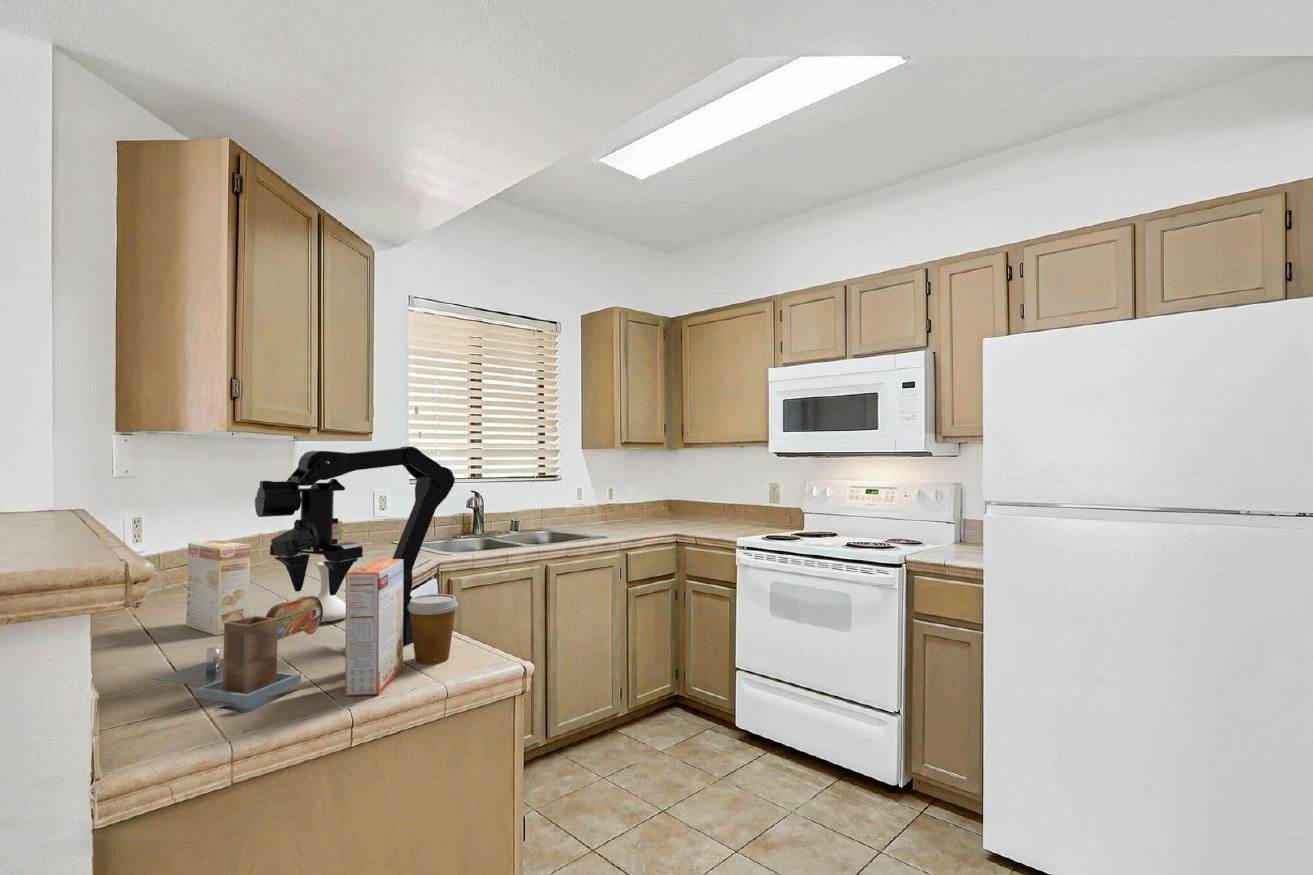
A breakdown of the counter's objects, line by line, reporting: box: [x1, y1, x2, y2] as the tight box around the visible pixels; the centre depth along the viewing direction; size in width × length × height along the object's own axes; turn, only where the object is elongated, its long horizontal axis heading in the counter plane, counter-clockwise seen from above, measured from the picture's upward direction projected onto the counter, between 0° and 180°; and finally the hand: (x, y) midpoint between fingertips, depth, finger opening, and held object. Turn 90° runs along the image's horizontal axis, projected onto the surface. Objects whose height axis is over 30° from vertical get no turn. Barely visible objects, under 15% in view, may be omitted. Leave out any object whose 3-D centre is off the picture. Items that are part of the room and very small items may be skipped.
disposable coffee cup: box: [407, 593, 459, 665], centre depth 129 cm, size 10×10×12 cm
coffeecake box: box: [185, 539, 251, 637], centre depth 150 cm, size 15×7×20 cm, turn 58°
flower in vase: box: [314, 519, 346, 623], centre depth 158 cm, size 13×11×25 cm
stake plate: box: [154, 646, 224, 687], centre depth 117 cm, size 12×12×5 cm
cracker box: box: [344, 558, 404, 697], centre depth 116 cm, size 14×6×21 cm, turn 5°
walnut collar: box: [222, 615, 278, 694], centre depth 108 cm, size 5×5×12 cm
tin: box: [265, 595, 323, 642], centre depth 143 cm, size 15×3×8 cm, turn 168°
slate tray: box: [194, 671, 302, 713], centre depth 108 cm, size 11×11×2 cm
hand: (315, 593), depth 128 cm, fingers open, 9 cm apart
